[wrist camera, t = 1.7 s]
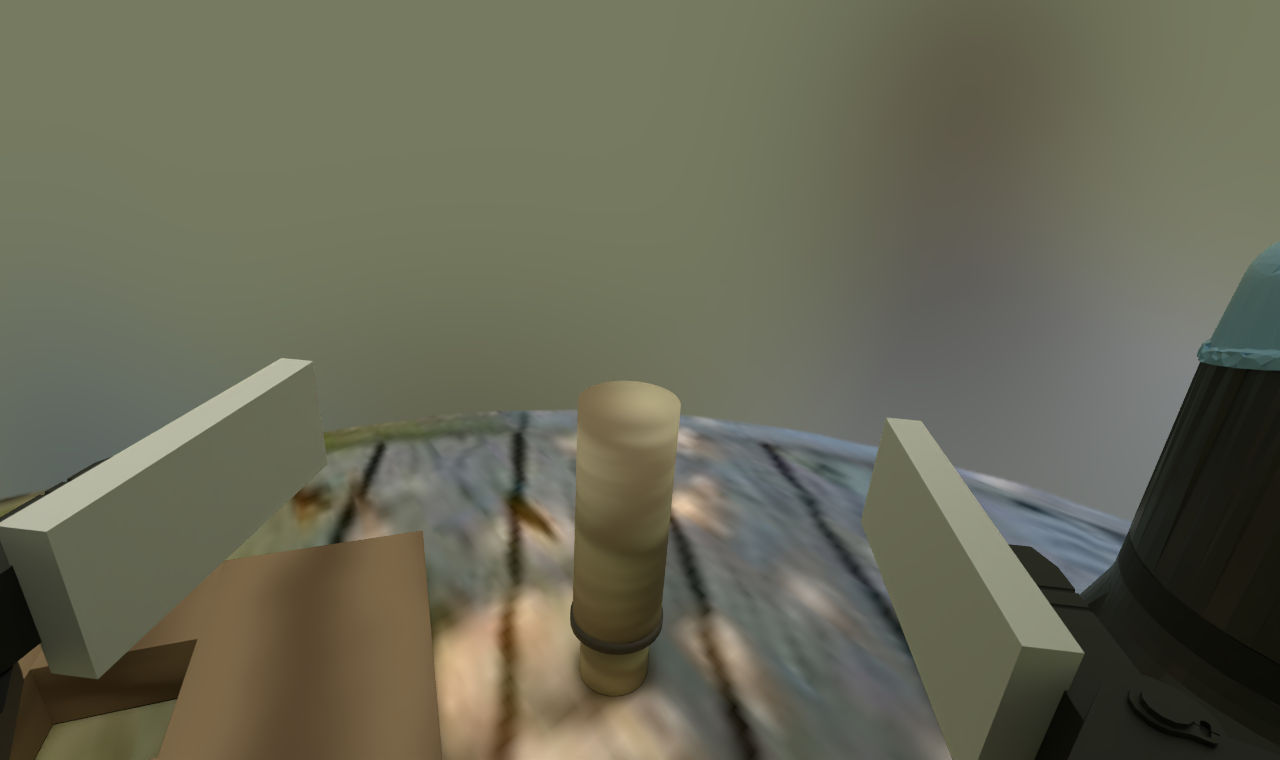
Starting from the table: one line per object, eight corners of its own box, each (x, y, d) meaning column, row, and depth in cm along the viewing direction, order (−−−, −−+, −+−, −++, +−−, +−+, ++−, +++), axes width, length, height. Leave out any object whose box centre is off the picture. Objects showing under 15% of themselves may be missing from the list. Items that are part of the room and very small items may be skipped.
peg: (640, 626, 33) (660, 376, 28) (670, 692, 30) (701, 419, 24) (560, 644, 32) (564, 384, 26) (582, 715, 28) (592, 431, 23)
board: (426, 575, 36) (422, 530, 35) (452, 879, 22) (447, 822, 21) (-161, 677, 28) (-192, 623, 27) (-695, 1254, 14) (-807, 1196, 13)
